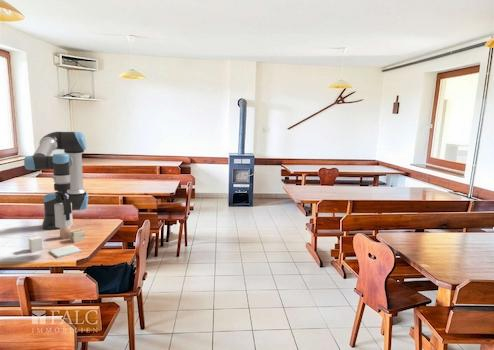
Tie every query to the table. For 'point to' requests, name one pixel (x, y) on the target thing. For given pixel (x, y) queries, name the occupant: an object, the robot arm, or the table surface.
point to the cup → (61, 215)
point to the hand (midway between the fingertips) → (64, 224)
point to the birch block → (77, 235)
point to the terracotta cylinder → (65, 232)
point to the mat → (65, 251)
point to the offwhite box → (35, 244)
